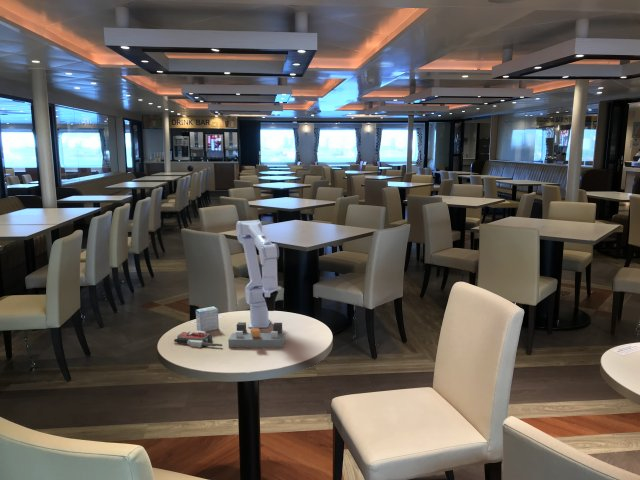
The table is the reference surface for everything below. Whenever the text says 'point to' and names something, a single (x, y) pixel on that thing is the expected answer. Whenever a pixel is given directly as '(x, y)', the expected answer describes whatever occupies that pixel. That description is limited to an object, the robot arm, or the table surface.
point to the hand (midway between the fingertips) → (270, 310)
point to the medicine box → (207, 319)
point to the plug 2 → (277, 327)
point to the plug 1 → (241, 327)
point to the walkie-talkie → (195, 339)
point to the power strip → (257, 340)
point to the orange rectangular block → (255, 333)
